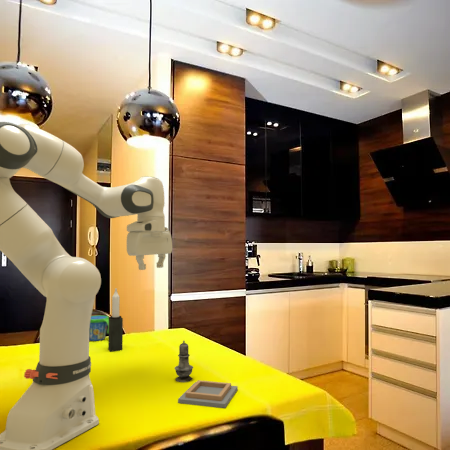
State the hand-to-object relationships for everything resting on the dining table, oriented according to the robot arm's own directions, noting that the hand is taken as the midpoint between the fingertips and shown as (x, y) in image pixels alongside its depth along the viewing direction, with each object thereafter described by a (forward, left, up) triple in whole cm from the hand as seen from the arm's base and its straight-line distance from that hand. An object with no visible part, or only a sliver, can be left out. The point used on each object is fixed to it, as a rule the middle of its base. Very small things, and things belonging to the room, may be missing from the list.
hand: (151, 268), depth 122 cm
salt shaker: (0, -11, -35) cm, 36 cm away
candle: (+26, +30, -35) cm, 53 cm away
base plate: (-11, -23, -35) cm, 43 cm away
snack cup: (+40, +48, -35) cm, 71 cm away
